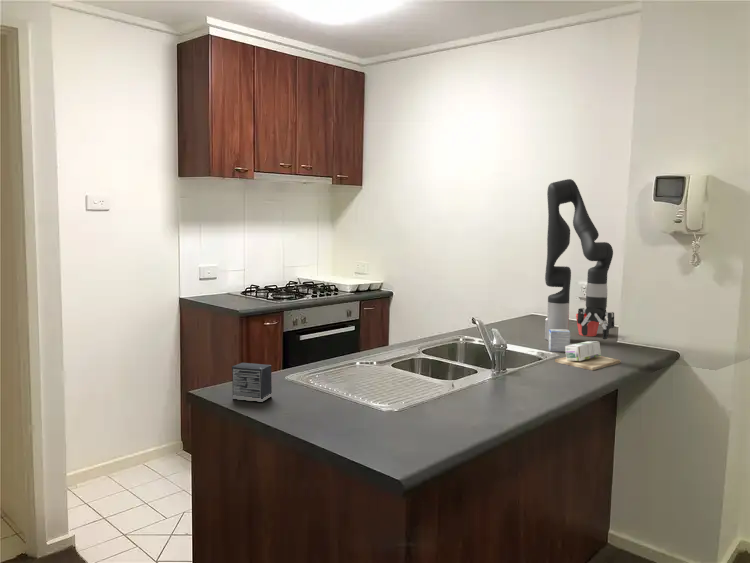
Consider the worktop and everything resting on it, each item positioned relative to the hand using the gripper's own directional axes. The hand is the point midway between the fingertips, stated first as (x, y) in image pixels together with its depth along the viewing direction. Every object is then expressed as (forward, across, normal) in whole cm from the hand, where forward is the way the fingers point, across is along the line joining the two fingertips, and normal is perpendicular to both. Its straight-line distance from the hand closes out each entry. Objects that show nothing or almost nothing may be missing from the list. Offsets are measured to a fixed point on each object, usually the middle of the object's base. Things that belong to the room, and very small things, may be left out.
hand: (594, 337), depth 235 cm
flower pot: (+10, -32, +45) cm, 56 cm away
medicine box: (+10, -20, +6) cm, 23 cm away
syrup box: (+5, -3, +4) cm, 7 cm away
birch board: (+10, -1, -2) cm, 10 cm away
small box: (+10, -37, -125) cm, 131 cm away
